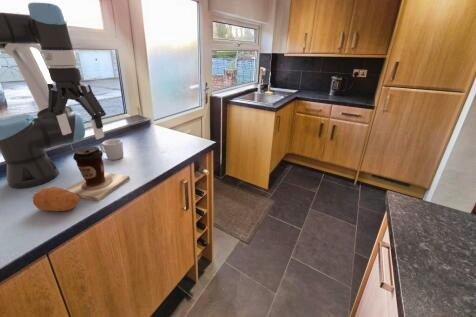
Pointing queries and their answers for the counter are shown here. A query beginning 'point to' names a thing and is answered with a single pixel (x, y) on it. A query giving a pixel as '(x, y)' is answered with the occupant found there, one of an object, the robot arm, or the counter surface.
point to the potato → (55, 199)
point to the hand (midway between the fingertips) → (83, 135)
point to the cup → (112, 148)
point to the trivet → (98, 187)
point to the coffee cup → (90, 165)
